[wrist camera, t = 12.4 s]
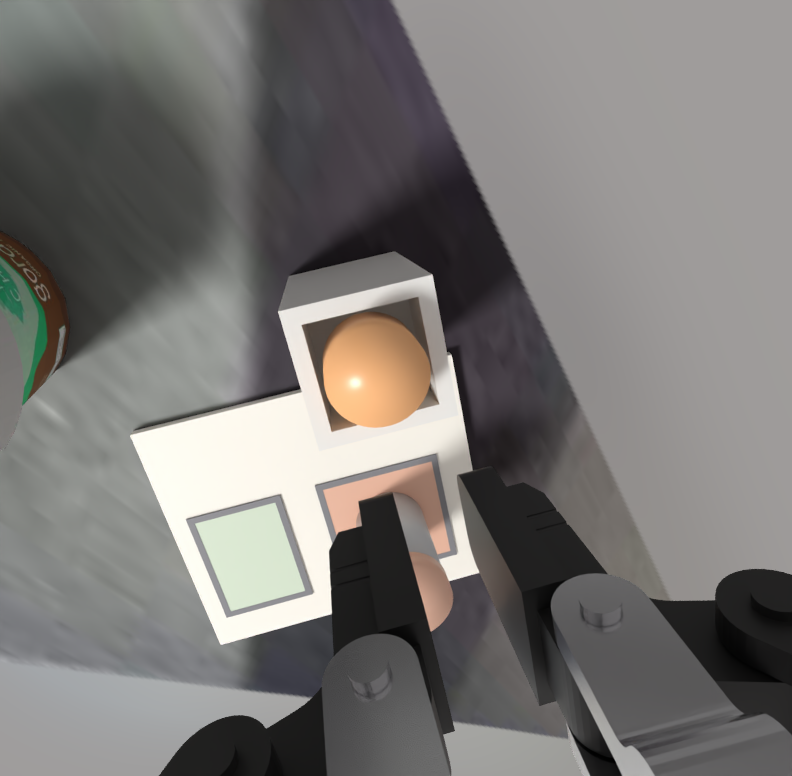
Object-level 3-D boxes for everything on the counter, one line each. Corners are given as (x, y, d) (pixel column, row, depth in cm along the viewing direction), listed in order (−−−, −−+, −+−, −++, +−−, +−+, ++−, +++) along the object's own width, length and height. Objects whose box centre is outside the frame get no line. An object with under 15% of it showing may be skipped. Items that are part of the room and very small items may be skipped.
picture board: (133, 430, 31) (129, 436, 30) (449, 351, 32) (452, 355, 32) (222, 638, 37) (220, 646, 36) (487, 563, 38) (491, 570, 37)
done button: (311, 324, 21) (311, 340, 19) (407, 301, 22) (419, 313, 19) (335, 414, 23) (338, 439, 20) (426, 391, 23) (439, 413, 21)
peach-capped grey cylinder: (346, 501, 34) (356, 580, 27) (417, 482, 34) (444, 556, 27) (363, 559, 35) (376, 648, 28) (430, 541, 36) (459, 625, 29)
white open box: (288, 276, 29) (278, 311, 20) (394, 251, 30) (432, 274, 20) (317, 376, 31) (319, 451, 22) (415, 352, 32) (458, 415, 23)
